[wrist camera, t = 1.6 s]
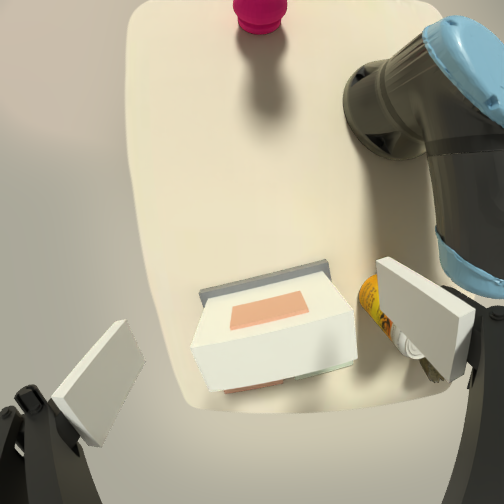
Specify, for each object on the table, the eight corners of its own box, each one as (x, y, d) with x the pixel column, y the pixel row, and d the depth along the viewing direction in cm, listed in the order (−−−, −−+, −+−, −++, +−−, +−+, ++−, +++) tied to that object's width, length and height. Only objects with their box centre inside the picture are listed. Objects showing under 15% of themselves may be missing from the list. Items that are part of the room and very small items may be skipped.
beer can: (354, 278, 39) (402, 325, 24) (390, 267, 38) (447, 306, 24) (359, 313, 40) (401, 369, 25) (393, 302, 40) (444, 350, 25)
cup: (418, 324, 41) (441, 346, 33) (445, 325, 41) (468, 345, 33) (402, 359, 42) (422, 384, 35) (430, 359, 43) (450, 381, 35)
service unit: (325, 259, 38) (362, 297, 24) (333, 309, 40) (366, 362, 26) (200, 289, 39) (177, 341, 25) (217, 337, 41) (204, 399, 27)
